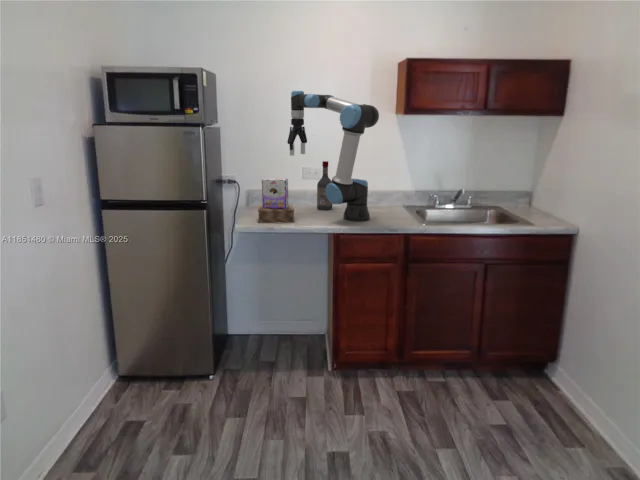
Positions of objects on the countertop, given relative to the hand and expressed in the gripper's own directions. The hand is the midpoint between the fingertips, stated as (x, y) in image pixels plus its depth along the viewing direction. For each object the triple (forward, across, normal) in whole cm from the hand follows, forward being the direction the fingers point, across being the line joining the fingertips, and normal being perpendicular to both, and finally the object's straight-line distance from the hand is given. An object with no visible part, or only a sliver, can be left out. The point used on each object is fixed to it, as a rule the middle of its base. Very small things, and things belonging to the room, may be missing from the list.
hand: (297, 154), depth 290 cm
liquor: (+35, -16, +11) cm, 40 cm away
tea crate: (+35, +27, +1) cm, 44 cm away
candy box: (+28, +27, +1) cm, 39 cm away
